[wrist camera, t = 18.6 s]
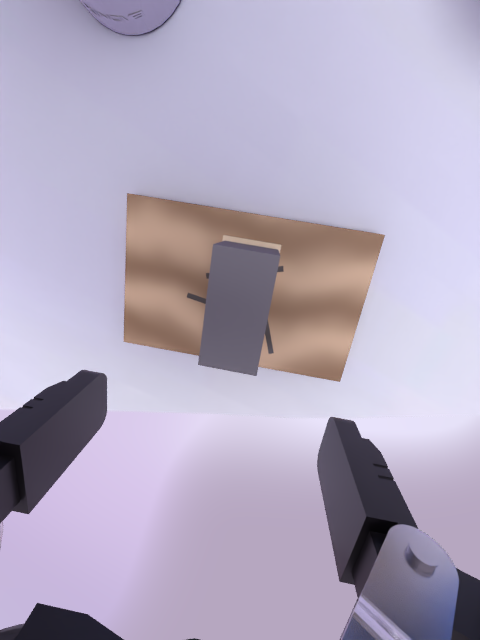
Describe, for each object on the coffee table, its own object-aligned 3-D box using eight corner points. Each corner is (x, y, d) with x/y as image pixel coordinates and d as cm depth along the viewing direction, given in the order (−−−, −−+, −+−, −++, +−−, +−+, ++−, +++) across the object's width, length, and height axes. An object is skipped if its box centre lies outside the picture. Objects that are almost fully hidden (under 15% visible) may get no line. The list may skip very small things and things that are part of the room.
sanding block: (224, 235, 25) (210, 237, 19) (281, 244, 25) (284, 250, 19) (210, 339, 28) (195, 368, 22) (260, 349, 28) (258, 380, 22)
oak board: (135, 195, 26) (127, 193, 25) (378, 234, 25) (384, 235, 24) (130, 336, 31) (123, 341, 29) (336, 374, 30) (340, 381, 28)
